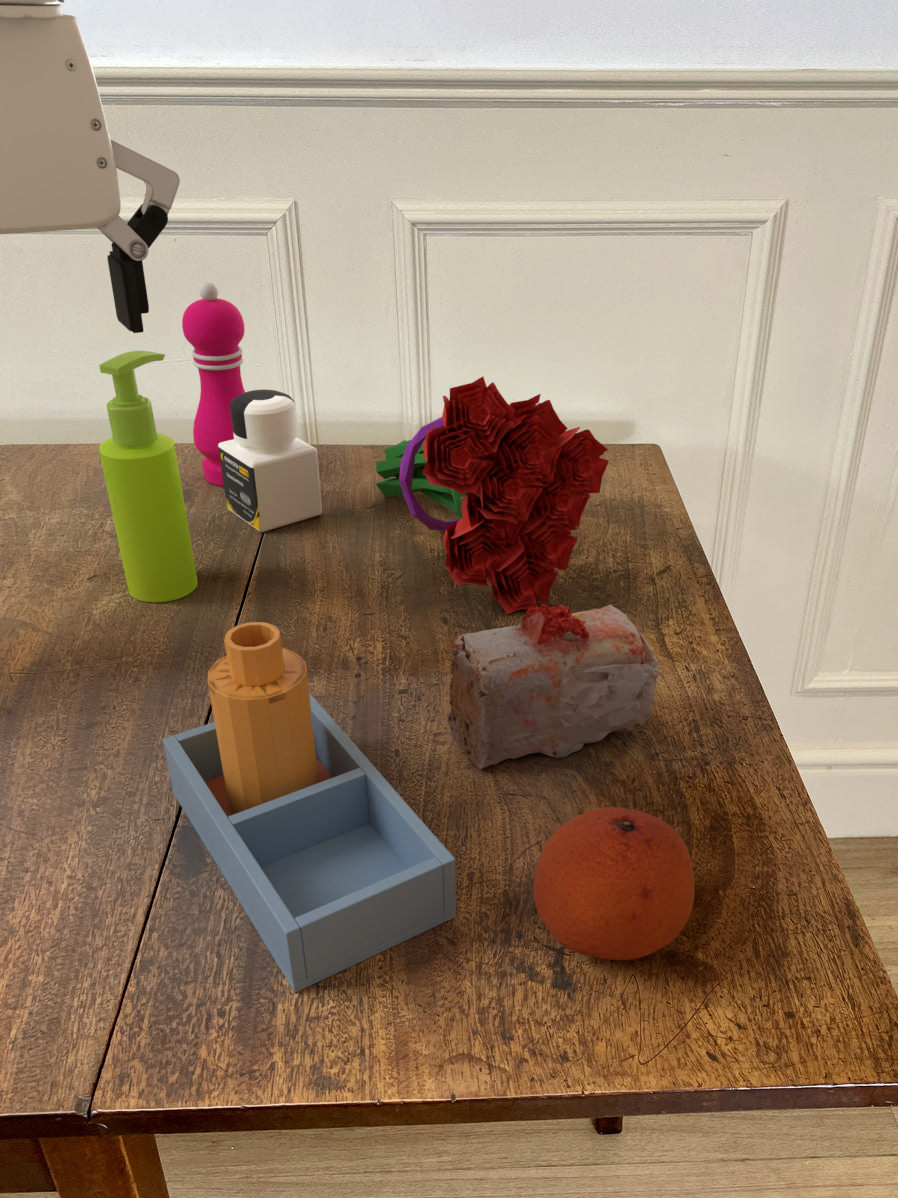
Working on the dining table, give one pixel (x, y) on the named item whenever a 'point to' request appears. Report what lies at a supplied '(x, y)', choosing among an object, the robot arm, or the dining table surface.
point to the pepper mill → (214, 372)
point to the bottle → (262, 717)
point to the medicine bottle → (269, 463)
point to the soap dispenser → (145, 491)
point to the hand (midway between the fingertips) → (46, 336)
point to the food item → (549, 683)
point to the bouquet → (499, 489)
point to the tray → (319, 855)
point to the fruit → (614, 884)
